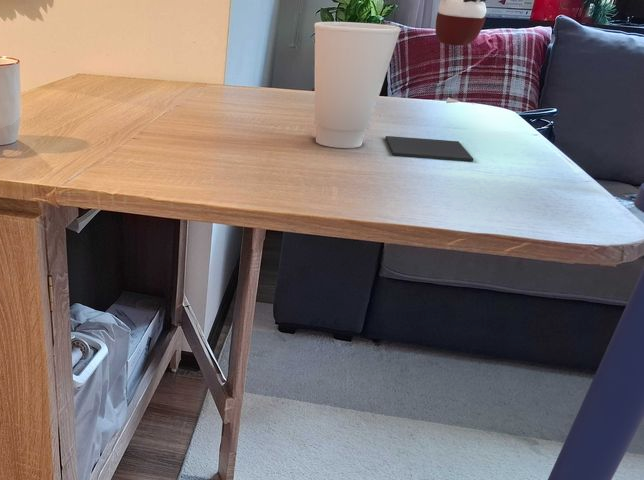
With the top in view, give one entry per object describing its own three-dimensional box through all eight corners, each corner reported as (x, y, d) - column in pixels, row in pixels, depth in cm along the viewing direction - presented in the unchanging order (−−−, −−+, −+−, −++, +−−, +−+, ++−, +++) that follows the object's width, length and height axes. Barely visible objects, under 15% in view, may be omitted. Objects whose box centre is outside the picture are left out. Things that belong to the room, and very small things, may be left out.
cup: (377, 155, 90) (402, 30, 82) (294, 147, 93) (310, 25, 84) (379, 138, 100) (401, 25, 92) (304, 130, 102) (318, 20, 94)
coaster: (457, 143, 98) (458, 141, 98) (472, 161, 89) (473, 158, 89) (385, 138, 100) (385, 135, 100) (392, 155, 91) (393, 152, 90)
